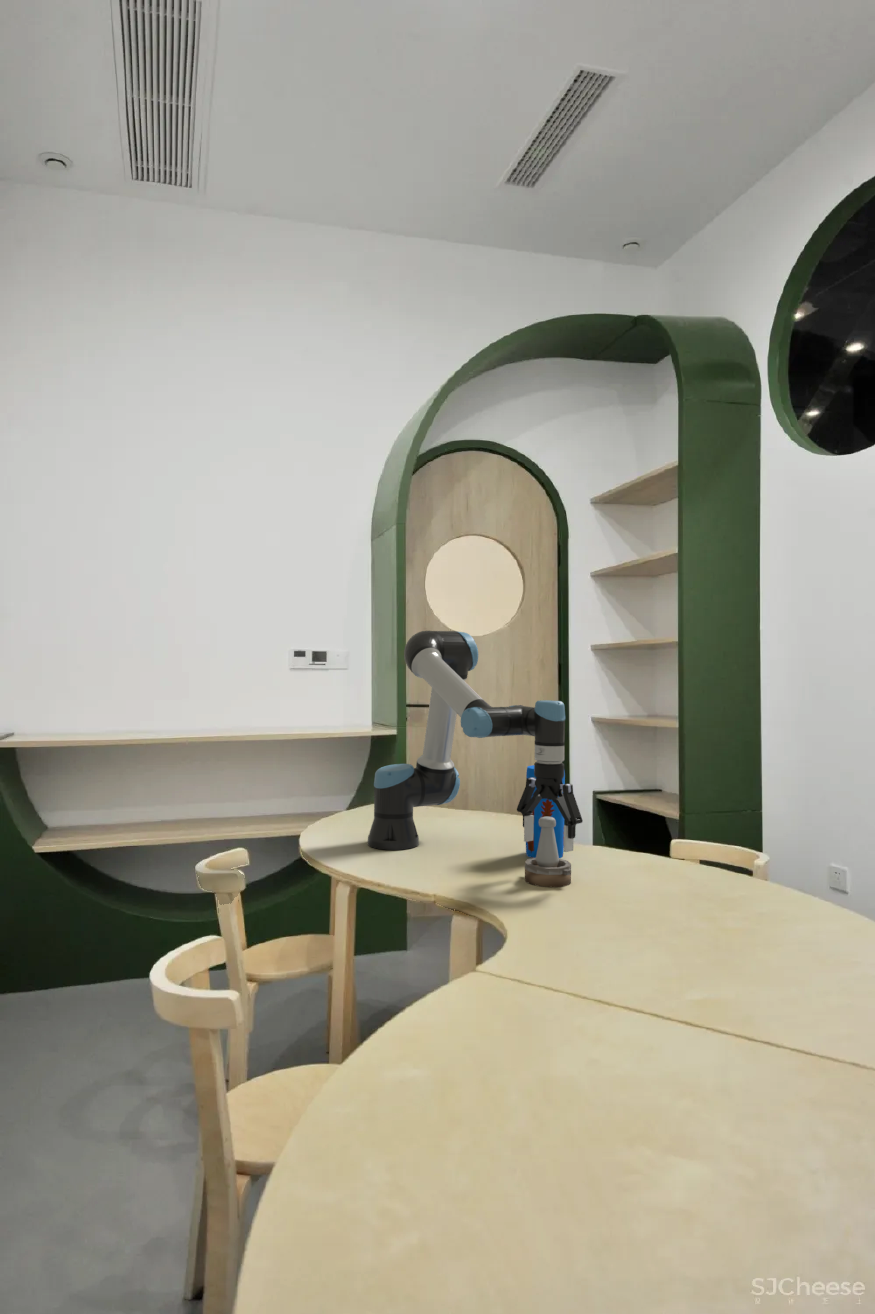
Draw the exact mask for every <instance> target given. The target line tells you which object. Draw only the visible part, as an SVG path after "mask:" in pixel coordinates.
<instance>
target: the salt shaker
mask: <svg viewBox="0 0 875 1314" xmlns="http://www.w3.org/2000/svg"><path fill="white" fill-rule="evenodd" d="M539 826H540V827H542V828H541V834H540V839H539V844H538V850H537V855H536V861H537V864H538V866H539V867H548V868H551V867H557V865H558V862H559V859H560V858H559V856H558V850H557V844H556V839H555V833H554V827H555V826H556V820H555V819H554V818H553V817H547V816H546V817H541V818H540V819H539Z"/></svg>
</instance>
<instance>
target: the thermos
mask: <svg viewBox="0 0 875 1314" xmlns="http://www.w3.org/2000/svg"><path fill="white" fill-rule="evenodd" d="M525 773H526V777H525V778H526V779H527V778H533V777H535V776H534V765H528V766H527V767H526V772H525ZM535 778H536V777H535ZM565 778H566V773H565V770H564V777H563V779H562V783H563V784H566V782H565V781H566V779H565ZM526 779H525V780H526ZM536 789H537V788H536V786H535V790H534V792H535V791H536ZM534 792H533V794H534ZM562 793H563V792H562ZM533 794H532V797H533ZM532 797H531V798H532ZM558 797H559V796H558ZM532 813H533V814H530V815H534V835H533V841H528V842H525V852H526V853H525V855H526V856H527V857H528V858H530V859H532V858H536V855H537V850H538V844H539V839H540V834H541V828H542V827H540V826H539V819H540V818H541V817H546V816H547V817H553V818H554V819H555V820H556V826H555V827H554V833H555V839H556V844H557V850H558V856H559V859H562V858H563V857H564V825H565V820H564V818H563V816H562V814H561V812H560V811H559V809H558V807H557V805H556V803H554V802H553V801H552V800H549V799H547V798H542V799H541V801H540V802H539V803H538V805H537V806H536V808H535V809H534V810H533V812H532Z"/></svg>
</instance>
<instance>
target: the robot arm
mask: <svg viewBox="0 0 875 1314" xmlns="http://www.w3.org/2000/svg"><path fill="white" fill-rule="evenodd" d="M403 654H404V655H403V658H404V662H405V664H406V666H407V668H408V669H409V671H411V673H412V674H413V675H414V676H415V677H416V678H419V679H423V680H424V681H425V682H426V683H427V684H428V685H429V686H430V687H431V690H430V691H431V692H430V699H429V705H428V707H429V708H428V713H427V720H426V721H427V722H426V729H425V735H424V741H423V750H422V755H420V756H419V757H417V759H416V764H415V767H414V765H412V764H410V763H395V764H389V765H385V766H382V767H380V768H378V769H377V770H376V771H375V773H374V782H373V786H374V787H373V793H374V795H373V798H374V800H373V801H374V802H373V820H372V822H371V823H372V824H371V827H370V830H369V833H368V836H367V845H368V846H369V847H371V848H374V849H378V850H386V851H387V850H388V851H389V850H390V851H391V850H392V851H399V850H409V849H413V848H415V847H418V846H419V842H420V841H419V840H420V839H419V834H418V831H417V827H416V825H415V821H414V808H418V807H419V808H420V807H428V806H440V805H443V804H448V803H452V801H453V800H454V799H455V798H456V797H457V795H458V793H459V790H460V786H461V779H460V777H459V776H460V774H459V771H458V770H457V768H456V767H455V763H454V761H453V760H452V759H451V757H452V751H453V744H454V743H453V742H454V738H455V737H454V736H455V730H456V724H457V723H456V722H457V715H458V716H459V717H460V727H461V728H462V732H463V733H464V735H465V736H467V737H469V738H478V739H482V738H483V739H484V738H494V737H495V738H496V737H509V736H511V737H512V736H530V737H534V760H535V763H534V776H535V777H536V778H535V777H533V778H527V779H525V787H524V789H523V792H522V795H521V797H520V800H519V802H518V804H517V807H516V811H517V812H518V813H520V814H521V815H522V827H523V842H524V843H526V842H528V841H533V835H534V815H530V814H533V813H532V812H533V810H534V809H535V808H536V806H537V805H538V803H539V802H540V801H541V799H542V798H547V799H549V800H552V801H553V802H554V803H556V805H557V807H558V809H559V811H560V812H561V814H562V816H563V818H564V823H565V824H564V849H563V853H569V852H572V851H574V839H575V838H576V828H577V827H576V826H577V825H578V824H582V823H583V818H582V814H581V811H580V809H579V805H578V803H577V800H576V797H575V794H574V786H573V784H572V783H565V784H563V783H562V779H563V777H564V771H565V763H563V762H564V761H565V741H566V740H565V733H566V731H565V729H566V717H567V716H566V710H565V709H566V708H565V704H564V702H563V701H561V700H550V699H547V700H546V699H545V700H544V699H543V700H537V701H536V702H535V705H534V706H526V705H525V706H524V705H523V704H522V705H521V704H520V705H519V704H518V705H517V704H516V705H515V704H514V705H509V706H491V705H490V704H489V703H488V702H487V701H485V699H484V698H482V697H481V696H480V695H479V693H477V692H476V691H475V690H474V689H473V688H472V687H471V686H470V684H468V682H466V680H468V675H469V674H468V673H469V672H470V671H473V670H474V669H475V667H476V666H477V664H478V661H479V650H478V646H477V643H476V641H475V638H474V637H473V636H472V635H470V633H467V632H464V631H456V630H422V631H419V632H417V633H415V634H413V635H412V636H411V637H410V638H409V639H408V641H407V642H406V644H405V646H404V651H403ZM535 786H536V788H537V789H536V791H535V792H534V790H535ZM533 792H534V794H533ZM562 792H563V793H562ZM532 794H533V797H532ZM558 796H559V797H558ZM531 797H532V798H531Z"/></svg>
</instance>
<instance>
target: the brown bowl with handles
mask: <svg viewBox="0 0 875 1314" xmlns="http://www.w3.org/2000/svg"><path fill="white" fill-rule="evenodd" d="M524 881H525V883H527V884H529V885H532V886H534V887H535V886H537V887H541V888H561V887H566V886H569V885H570V884H571V883H572V863H571V862H570V861H569V860H565V859H562V858H559V862H558V865H557V867H551V868H548V867H539V866H538V864H537V861H536V858H528V859H526V860H525V861H524Z"/></svg>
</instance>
